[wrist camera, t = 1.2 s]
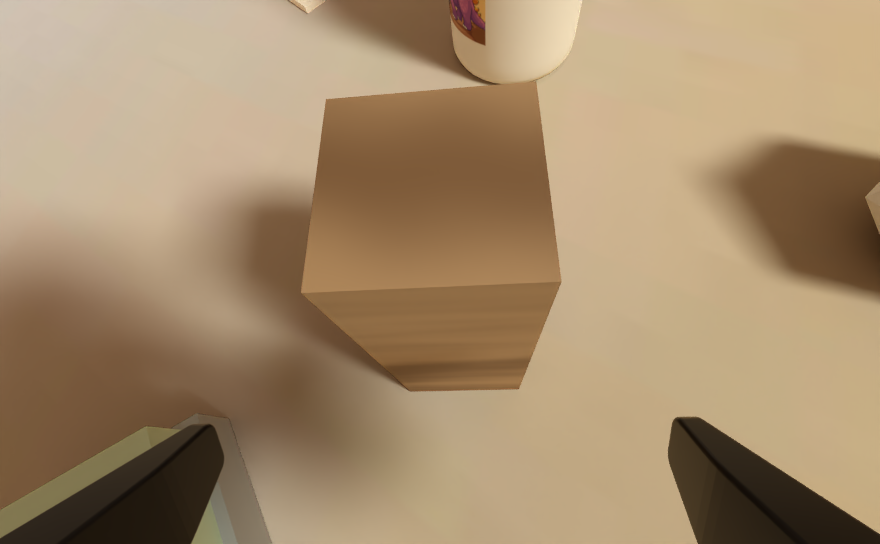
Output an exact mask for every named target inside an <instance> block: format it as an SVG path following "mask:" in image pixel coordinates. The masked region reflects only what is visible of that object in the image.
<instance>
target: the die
mask: <svg viewBox="0 0 880 544" xmlns="http://www.w3.org/2000/svg"><path fill="white" fill-rule="evenodd" d="M865 199H866V201H867V204H868V206H869V209H870V211H871V214H872V216H873V219H874V221H875V224H876V226H877V229H878V231H879V234H880V182H879V183H878V184H877V185H876V186H875V187H874V188H873V189H872V190H871V191H870V192H869V193H868V194H867V196H866V197H865Z"/></svg>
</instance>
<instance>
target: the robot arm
mask: <svg viewBox="0 0 880 544" xmlns="http://www.w3.org/2000/svg"><path fill="white" fill-rule="evenodd" d="M668 459H669V464H670V467H671V470H672V472H673V475H674V478H675V481H676V484H677V487H678V489H679V492H680V495H681V498H682V501H683V504H684V506H685V509H686V512H687V515H688V518H689V520H690V523H691V526H692V529H693V532H694V535H695V537H696V540H697V542H698V544H880V534H879V533H877V532H876V531H874V530H873V529H871V528H869V527H868V526H866V525H865V524H863V523H862V522H860V521H859V520H857V519H856V518H854V517H852V516H851V515H849V514H848V513H846V512H845V511H843V510H842V509H840V508H839V507H837V506H835V505H834V504H832V503H831V502H829V501H828V500H826V499H825V498H823V497H822V496H820V495H819V494H817V493H815V492H814V491H812V490H811V489H809V488H808V487H806V486H805V485H803V484H802V483H800V482H798V481H797V480H795V479H794V478H792V477H791V476H789V475H788V474H786V473H785V472H783V471H781V470H780V469H778V468H777V467H775V466H774V465H772V464H771V463H769V462H768V461H766V460H764V459H763V458H761V457H760V456H758V455H757V454H755V453H754V452H752V451H751V450H749V449H748V448H746V447H744V446H743V445H741V444H740V443H738V442H737V441H735V440H734V439H732V438H731V437H729V436H727V435H726V434H724V433H723V432H721V431H720V430H718V429H717V428H715V427H714V426H712V425H710V424H709V423H707V422H706V421H704V420H703V419H701V418H699V417H677V418H675V419H674V420H673V422H672V427H671V434H670V441H669V447H668ZM223 465H224V452H223V449H222V446H221V443H220V440H219V437H218V434H217V431H216V429H215V427H214V426H213V425H212V424H191V425H189V426H187V427H186V428H184V429H182V430H180V431H179V432H177V433H175V434H174V435H172V436H170V437H169V438H167V439H165V440H164V441H162V442H160V443H159V444H157V445H155V446H154V447H152V448H150V449H149V450H147V451H145V452H144V453H142V454H140V455H139V456H137V457H135V458H134V459H132V460H130V461H128V462H127V463H125V464H123V465H122V466H120V467H118V468H117V469H115V470H113V471H112V472H110V473H108V474H107V475H105V476H103V477H102V478H100V479H98V480H97V481H95V482H93V483H92V484H90V485H88V486H87V487H85V488H83V489H82V490H80V491H78V492H77V493H75V494H73V495H71V496H70V497H68V498H66V499H65V500H63V501H61V502H60V503H58V504H56V505H55V506H53V507H51V508H50V509H48V510H46V511H45V512H43V513H41V514H40V515H38V516H36V517H35V518H33V519H31V520H30V521H28V522H26V523H25V524H23V525H21V526H19V527H18V528H16V529H14V530H13V531H11V532H9V533H8V534H6V535H4V536H3V537H1V538H0V544H191V543H192V541H193V539H194V536H195V534H196V532H197V530H198V527H199V525H200V522H201V520H202V517H203V515H204V512H205V510H206V508H207V505H208V503H209V500H210V498H211V495H212V493H213V490H214V488H215V485H216V483H217V481H218V478H219V476H220V473H221V471H222V468H223Z"/></svg>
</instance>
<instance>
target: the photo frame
mask: <svg viewBox="0 0 880 544" xmlns="http://www.w3.org/2000/svg"><path fill="white" fill-rule="evenodd" d="M289 1H290V2H292V3H293V4H295V5H296V6H297V7H299V8H300V9H302V10H303V11H305V12H306V13H307V14H308V13H309V12H310V11H312V10H313V9H315V8H316V7H318V6H319V5H320V4H322V3H323V2H325V1H326V0H289Z"/></svg>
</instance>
